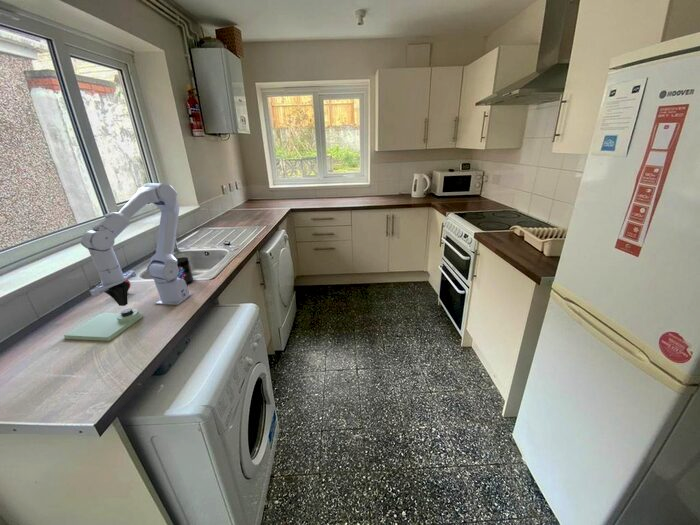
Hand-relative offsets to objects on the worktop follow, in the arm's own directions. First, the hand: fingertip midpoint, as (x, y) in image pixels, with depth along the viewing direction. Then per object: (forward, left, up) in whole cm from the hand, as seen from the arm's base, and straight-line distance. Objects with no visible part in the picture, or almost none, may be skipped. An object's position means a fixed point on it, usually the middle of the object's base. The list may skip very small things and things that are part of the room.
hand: (123, 304), depth 96 cm
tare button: (0, 0, -4) cm, 4 cm away
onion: (+20, -19, -7) cm, 29 cm away
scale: (+5, +4, -7) cm, 9 cm away
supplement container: (0, -30, -7) cm, 31 cm away
